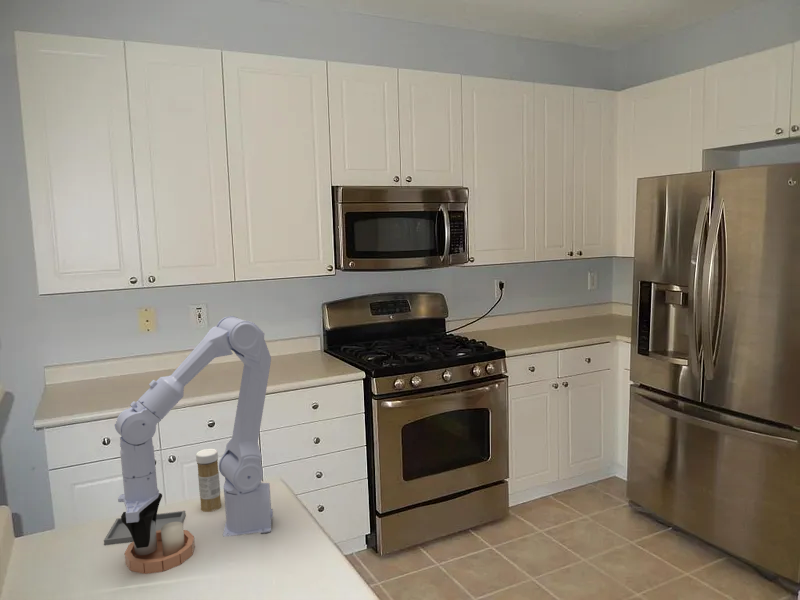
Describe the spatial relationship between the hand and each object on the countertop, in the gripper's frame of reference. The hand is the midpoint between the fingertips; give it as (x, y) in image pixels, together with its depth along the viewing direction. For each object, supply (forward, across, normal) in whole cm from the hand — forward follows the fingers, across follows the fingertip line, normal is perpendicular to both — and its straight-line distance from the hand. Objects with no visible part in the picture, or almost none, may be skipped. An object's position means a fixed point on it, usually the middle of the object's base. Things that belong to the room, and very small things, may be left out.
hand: (145, 540), depth 112 cm
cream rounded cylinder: (+3, 0, +5) cm, 6 cm away
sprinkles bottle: (+4, -18, +10) cm, 21 cm away
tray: (+4, -11, -2) cm, 12 cm away
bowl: (+4, 0, +2) cm, 5 cm away
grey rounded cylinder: (+2, 0, 0) cm, 2 cm away
